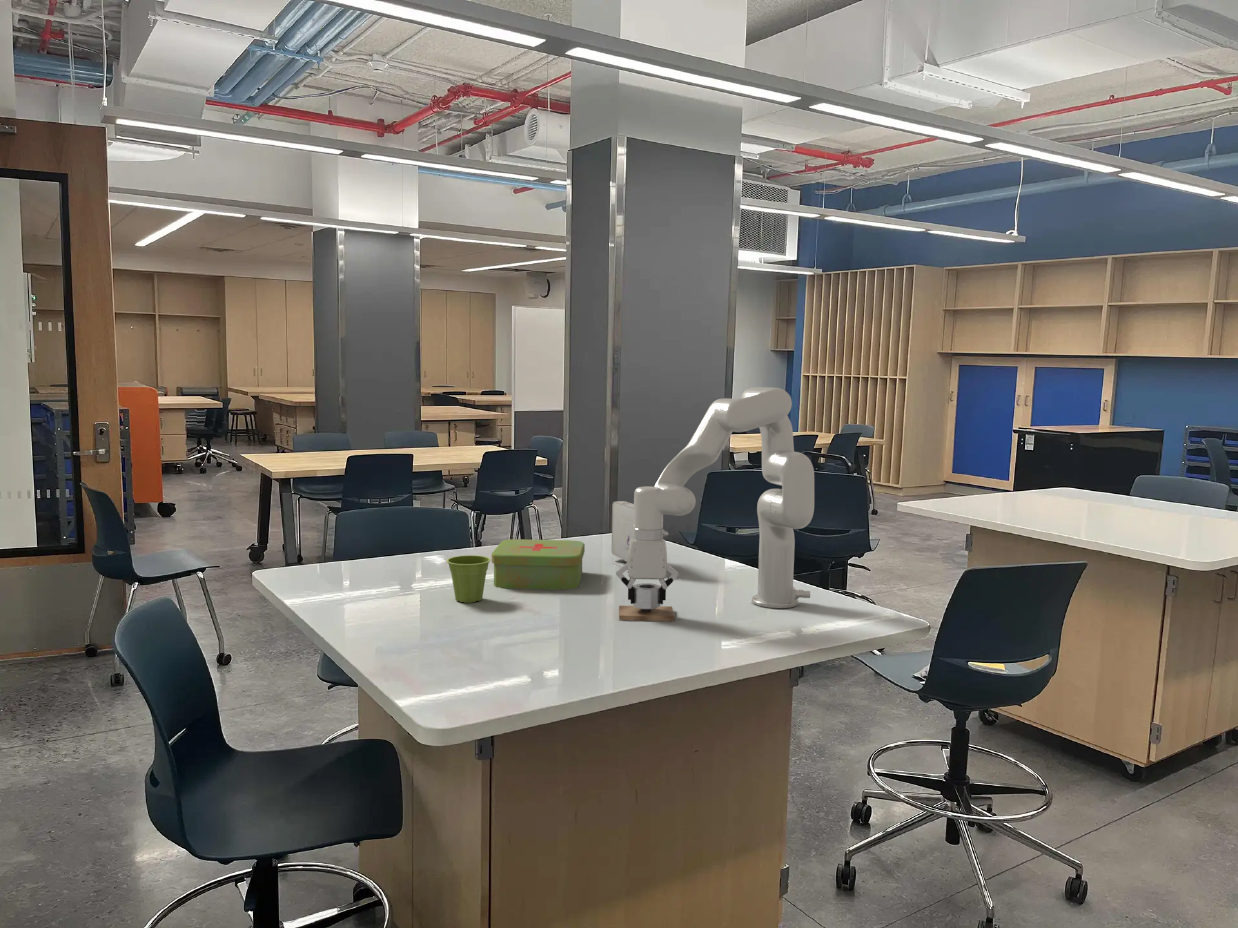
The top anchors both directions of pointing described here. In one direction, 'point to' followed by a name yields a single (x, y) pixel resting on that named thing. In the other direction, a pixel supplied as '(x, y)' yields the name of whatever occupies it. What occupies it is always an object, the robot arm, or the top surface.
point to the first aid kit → (538, 564)
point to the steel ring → (646, 596)
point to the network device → (622, 530)
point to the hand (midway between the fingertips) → (646, 602)
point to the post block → (646, 613)
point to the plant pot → (468, 576)
